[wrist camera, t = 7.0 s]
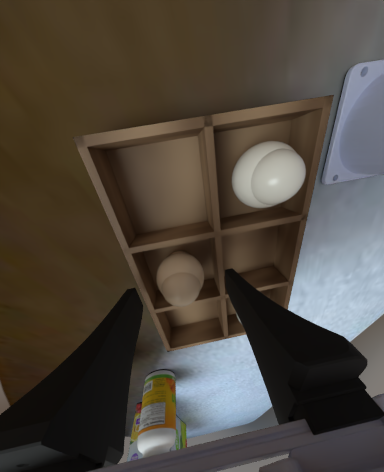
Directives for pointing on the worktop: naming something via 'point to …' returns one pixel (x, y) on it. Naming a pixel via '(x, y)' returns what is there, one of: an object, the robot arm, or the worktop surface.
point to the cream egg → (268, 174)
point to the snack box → (133, 449)
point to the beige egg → (180, 278)
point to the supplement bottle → (158, 414)
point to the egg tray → (205, 208)
